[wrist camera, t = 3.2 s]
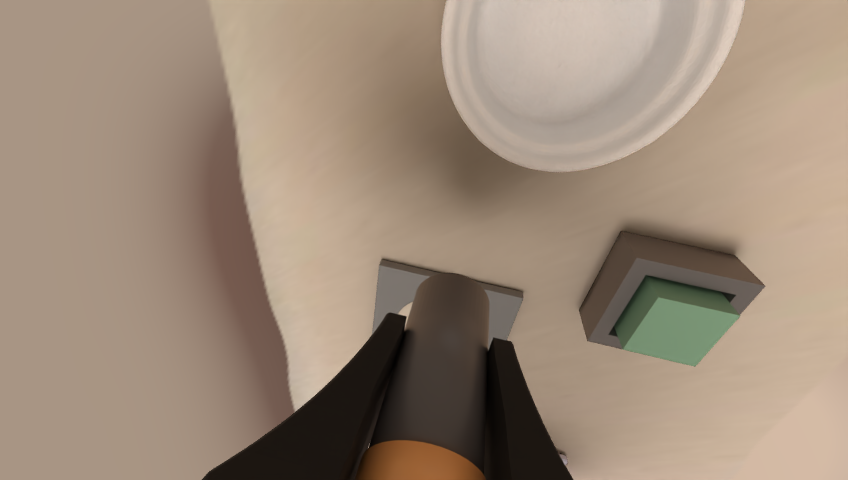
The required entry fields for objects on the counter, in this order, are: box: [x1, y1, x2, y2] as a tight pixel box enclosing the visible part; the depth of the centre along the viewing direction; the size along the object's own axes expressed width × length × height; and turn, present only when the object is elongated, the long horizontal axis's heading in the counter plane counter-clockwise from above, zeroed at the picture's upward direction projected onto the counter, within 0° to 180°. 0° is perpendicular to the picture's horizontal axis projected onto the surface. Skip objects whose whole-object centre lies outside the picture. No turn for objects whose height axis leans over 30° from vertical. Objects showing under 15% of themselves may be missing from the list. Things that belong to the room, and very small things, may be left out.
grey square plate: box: [372, 260, 523, 350], centre depth 24 cm, size 9×9×1 cm
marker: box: [355, 273, 490, 480], centre depth 11 cm, size 3×3×8 cm
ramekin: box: [441, 0, 745, 172], centre depth 13 cm, size 9×9×4 cm
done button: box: [614, 275, 740, 366], centre depth 18 cm, size 4×4×2 cm
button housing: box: [579, 231, 765, 349], centre depth 19 cm, size 6×6×2 cm
